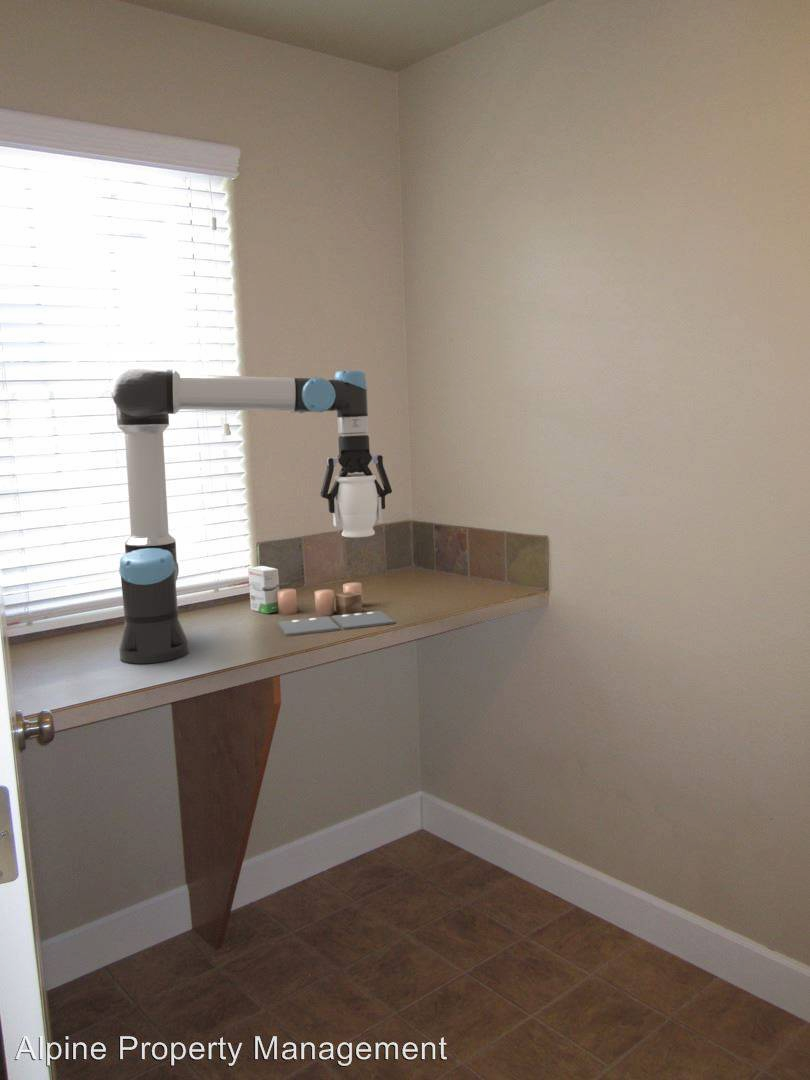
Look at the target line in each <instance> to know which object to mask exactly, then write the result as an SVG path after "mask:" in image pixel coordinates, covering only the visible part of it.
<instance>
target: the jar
mask: <svg viewBox="0 0 810 1080" xmlns="http://www.w3.org/2000/svg"><path fill="white" fill-rule="evenodd" d="M334 477H335V478H334V482H335V481H336V482H339V489H338V493H337V494H336V496H335V499H336V500H338V518H339V525H340V526H341V528H342V529H343V530H342V532H341V537H345V538H354V539H355V538H367V537H372V536H374V535H375V534H376V532H375V529H374V526H375V523H376V513H377V505H378V497H377V496H378V493H377V489H376V485H375V480H377V474H373V475H371V476H366V475H365V474H364V473H349V474H347V476H346V477H338V475H336V476H334Z"/></svg>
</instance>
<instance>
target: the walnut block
mask: <svg viewBox="0 0 810 1080" xmlns="http://www.w3.org/2000/svg"><path fill="white" fill-rule="evenodd" d="M334 598H335V610H336V611H335V614H338V615H341V614H342V615H345V614H354V613H363V606H362V600H361V594H358V593H354V592H347V593H344V592H343V593H336V594H334Z"/></svg>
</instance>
